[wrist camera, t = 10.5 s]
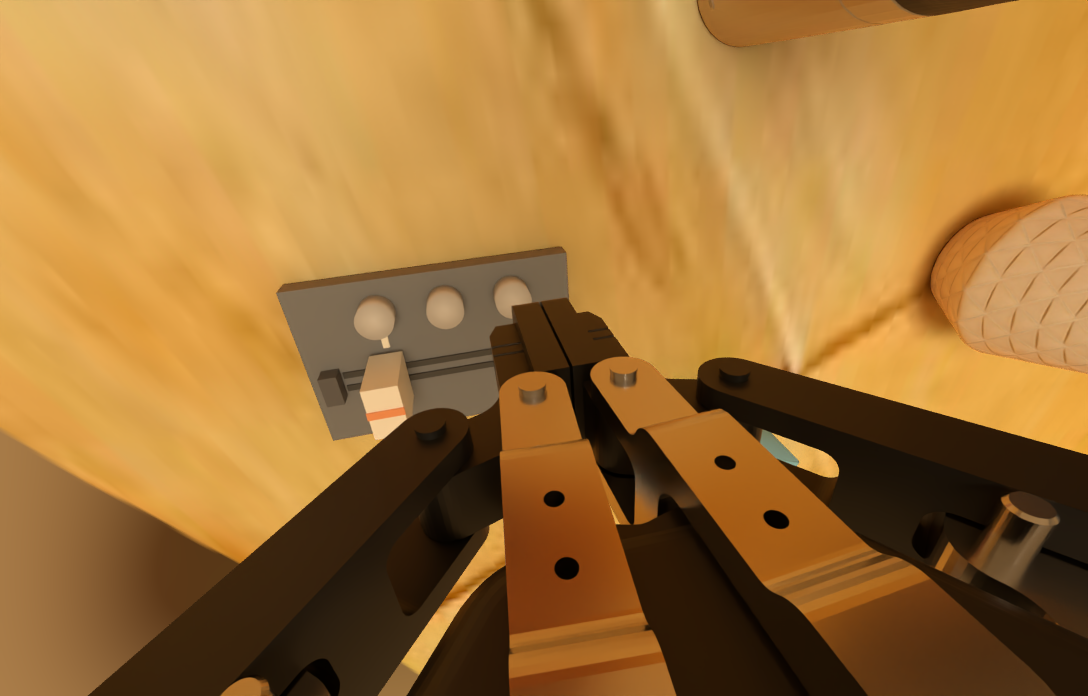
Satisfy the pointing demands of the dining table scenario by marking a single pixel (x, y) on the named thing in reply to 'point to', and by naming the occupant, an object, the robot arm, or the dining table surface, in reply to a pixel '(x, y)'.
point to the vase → (1021, 283)
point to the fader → (386, 393)
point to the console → (415, 329)
